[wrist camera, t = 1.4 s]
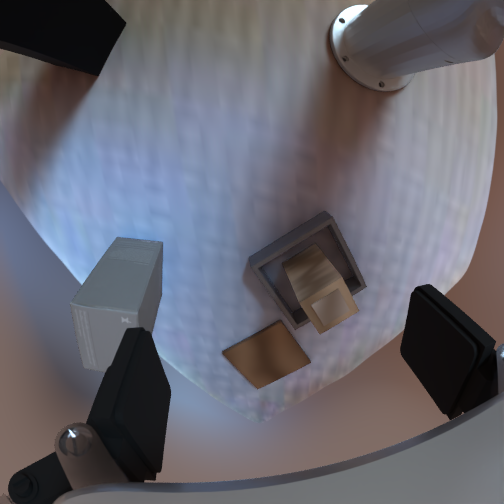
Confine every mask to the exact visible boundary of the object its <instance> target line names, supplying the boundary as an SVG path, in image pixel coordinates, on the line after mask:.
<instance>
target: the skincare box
mask: <svg viewBox="0 0 504 504" xmlns="http://www.w3.org/2000/svg"><path fill="white" fill-rule="evenodd" d="M162 264H163V242H159V241H149V240H140V239H131V238H121V237H117V238H116V239H115V240H114V242H113V243H112V244H111V246H110V247H109V248H108V250H107V251H106V252H105V254H104V255H103V256H102V258H101V259H100V261H99V262H98V263H97V265H96V266H95V268H94V269H93V270H92V272H91V273H90V275H89V276H88V278H87V279H86V280H85V282H84V283H83V285H82V286H81V288H80V289H79V291H78V292H77V294H76V295H75V297H74V298H73V300H72V301H71V302H70V306H71V312H72V318H73V323H74V329H75V334H76V338H77V343H78V348H79V351H80V355H81V359H82V363H83V367H84V368H86V369H91V370H96V371H101V372H106V370H107V368H108V367H109V366H111V364H112V361H113V359H114V357H115V354H116V352H117V349H118V347H119V345H120V342H121V340H122V338H123V335H124V333H125V331H126V329H127V328H134V327H143V328H144V329H145V331H150V333H151V335H152V332H153V328H154V324H155V319H156V315H157V311H158V307H159V303H160V299H161V296H162Z"/></svg>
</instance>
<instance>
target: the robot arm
mask: <svg viewBox="0 0 504 504" xmlns="http://www.w3.org/2000/svg"><path fill="white" fill-rule="evenodd" d="M340 22H341V23H340ZM503 38H504V0H375V1H374V2H372V3H371V4H370V5H355V6H351V7H348V8H346V9H344V10H343V11H342V12H341V13H339V14H338V15H337V17H336V18H335V19H334V21H333V23H332V25H331V29H330V44H331V49H332V51H333V54H334V56H335V58H336V60H337V62H338V63H339V65H340V66H341V67H342V69H343V70H344V71H345V72H346V73H347V74H348V75H349V76H350V77H351V78H352V79H353V80H355V81H356V82H358V83H359V84H361V85H363V86H365V87H367V88H369V89H372V90H376V91H383V92H386V91H394V90H398V89H400V88H402V87H405V86H406V85H407V84H408V83H409V82H410V81H411V80H412V78H413V77H414V75H415V73H417V72H421V71H425V70H430V69H434V68H439V67H444V66H449V65H454V64H460V63H465V62H471V61H478V60H482V59H485V58H488V57H490V56H491V55H493V54H494V53H495V52H496V51H497V49H498V48H499V46H500V45H501V43H502V41H503ZM343 59H344V60H345V62H344V61H343ZM379 85H380V86H379ZM495 343H496V341H495V340H494V339H493V338H492V337H491V336H490V335H489V334H488V333H487V332H485V331H484V330H483V329H482V328H481V327H480V326H479V325H478V324H477V323H476V322H474V321H473V320H472V319H471V318H470V317H469V316H467V315H466V314H465V313H464V312H463V311H462V310H461V309H460V308H458V307H457V306H456V305H455V304H454V303H452V302H451V301H450V300H449V299H448V298H447V297H445V296H444V295H443V294H442V293H441V292H439V291H438V290H437V289H436V288H434V287H433V286H432V285H430V284H426V285H422V286H417V287H416V288H415V289H414V291H413V292H412V293H411V297H410V303H409V309H408V314H407V319H406V324H405V329H404V334H403V338H402V343H401V347H400V351H401V355H402V357H403V358H404V360H405V361H406V363H407V364H408V365H409V367H410V368H411V369H412V371H413V372H414V374H415V375H416V376H417V378H418V379H419V380H420V382H421V383H422V385H423V386H424V388H425V389H426V390H427V392H428V393H429V395H430V396H431V397H432V399H433V400H434V402H435V403H436V405H437V406H438V408H439V409H440V411H441V412H442V413H443V414H446V415H447V416H448V418H449V419H450V420H451V421H449V422H447V423H445V424H443V425H440V426H438V427H436V428H434V429H432V430H430V431H428V432H425V433H423V434H420V435H418V436H416V437H413V438H411V439H408V440H406V441H403V442H401V443H398V444H396V445H393V446H390V447H387V448H384V449H382V450H379V451H376V452H373V453H369V454H367V455H363V456H360V457H357V458H353V459H350V460H347V461H342V462H339V463H335V464H331V465H327V466H322V467H318V468H314V469H309V470H304V471H299V472H294V473H288V474H283V475H276V476H269V477H262V478H254V479H245V480H233V481H220V482H200V483H144V480H154V481H155V480H156V473H160V472H161V469H162V460H163V451H164V444H165V435H166V427H167V419H168V412H169V405H170V398H171V389H170V385H169V382H168V380H167V377H166V375H165V372H164V369H163V367H162V364H161V361H160V358H159V355H158V353H157V350H156V347H155V344H154V341H153V338H152V335H151V333H150V331H145V329H144V328H143V327H134V328H127V329H126V331H125V333H124V335H123V338H122V340H121V342H120V345H119V347H118V349H117V352H116V354H115V357H114V359H113V361H112V364H111V366H109V367H108V368H107V370H106V372H105V375H104V377H103V380H102V383H101V385H100V387H99V390H98V393H97V395H96V398H95V400H94V403H93V406H92V409H91V411H90V414H89V417H88V419H87V422H86V424H85V423H73V424H70V425H67V426H66V427H64V428H63V429H62V430H61V431H60V432H59V433H58V434H57V436H56V439H55V444H54V446H55V452H54V453H52V454H50V455H48V456H46V457H45V458H43V459H41V460H39V461H37V462H35V463H33V464H31V465H30V466H28V467H26V468H24V469H22V470H20V471H18V472H17V473H16V474H14V475H13V476H12V478H11V479H10V482H9V485H8V492H9V495H8V496H6V495H5V494H3V495H2V496H1V497H0V504H504V344H502V345H500V346H499V347H498V348H497V350H496V351H495V350H494V349H493V348H494V346H495ZM462 412H464V414H463V415H461V414H462ZM459 415H461V416H459ZM458 416H459V417H458ZM456 417H457V418H456ZM454 418H455V419H454ZM452 419H453V420H452Z"/></svg>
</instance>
